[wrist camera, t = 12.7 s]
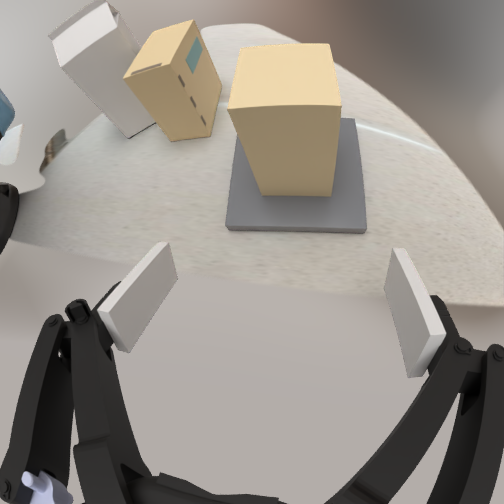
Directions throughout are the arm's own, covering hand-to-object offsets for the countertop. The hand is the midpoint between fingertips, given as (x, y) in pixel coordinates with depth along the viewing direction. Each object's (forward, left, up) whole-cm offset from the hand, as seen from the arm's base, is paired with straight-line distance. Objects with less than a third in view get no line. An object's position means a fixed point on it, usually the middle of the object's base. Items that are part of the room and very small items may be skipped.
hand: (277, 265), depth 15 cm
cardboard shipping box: (-11, +20, -7) cm, 24 cm away
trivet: (+1, +11, -7) cm, 13 cm away
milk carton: (-19, +22, -8) cm, 30 cm away
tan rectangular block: (+1, +11, -6) cm, 12 cm away
